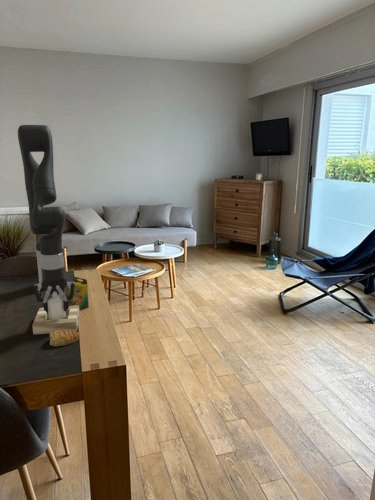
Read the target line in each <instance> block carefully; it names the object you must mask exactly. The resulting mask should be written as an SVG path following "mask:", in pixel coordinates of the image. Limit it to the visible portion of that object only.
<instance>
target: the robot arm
mask: <svg viewBox="0 0 375 500" xmlns="http://www.w3.org/2000/svg"><path fill="white" fill-rule="evenodd" d="M17 139H18V145H19V150H20V154H21V160H22V166H23V172H24V173H23V175H24V184H25V193H26V197H27V202H28V204H27V205H28V216H29V217H28V218H29V227H30V232H31V233H32V234H33V235H42V236H41V237H39V241H38V242H36V243H35V252H36V260H37V261H36V263H37V270H38V272H37V273H38V283H34V285H33V287H32V288H33V292H34V295H35V298H36V301H37V303H43V308H44V311H46V313H48V303H47V301H48V299H49V296H50V295H52V294H53V292H57V294H59V296H61V297H62V298H63V299H64V311H67V309H68V308H69V306H70V299H71V300H72V299H73V295H74V288H75V282H74V280H72V281H68V280H67V279H66V270H65V269H66V267H65V257H64V253H63V241H62V240H63V232H64V227H65V223H66V213H65V210H64V209H63V208H62V207H61V206H48V205H51V204H54V203H55V202H56V201H57V192H56V191H57V190H56V185H55V175H54V173H55V172H54V146H53V145H54V143H53V135H52V132H51V128H50V127H49V126H48V125H45V124H21V125H19V126H18V128H17ZM38 152H39V153H43V156H42V159H41V162H40V163H39V162H37V161H36V159H35V158H34V156H33V154H32V153H38ZM46 206H47V207H46ZM66 287H68V289H69V288H70V295H69V294H67V291H66V289H65V288H66ZM41 289H44V290H45V295H44V296H43V295H42V293H41Z"/></svg>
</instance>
